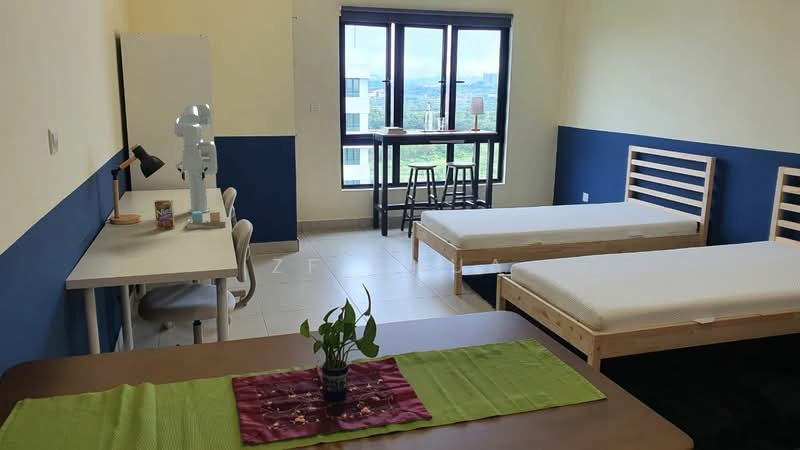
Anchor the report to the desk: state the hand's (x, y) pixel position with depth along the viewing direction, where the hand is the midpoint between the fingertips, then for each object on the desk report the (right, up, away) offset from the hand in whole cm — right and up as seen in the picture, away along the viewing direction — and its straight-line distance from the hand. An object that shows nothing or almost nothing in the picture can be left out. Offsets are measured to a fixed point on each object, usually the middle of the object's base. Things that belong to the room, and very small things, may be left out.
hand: (193, 179), depth 332 cm
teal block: (0, -24, +8) cm, 25 cm away
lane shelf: (+6, -25, +5) cm, 26 cm away
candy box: (-14, -26, -1) cm, 30 cm away
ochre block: (+10, -25, +5) cm, 27 cm away
